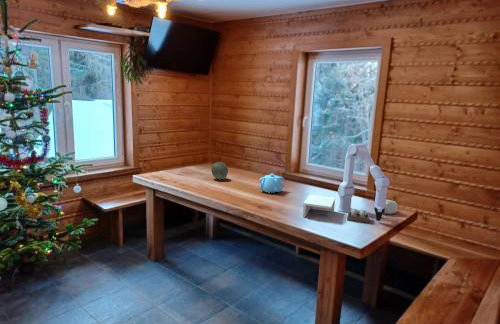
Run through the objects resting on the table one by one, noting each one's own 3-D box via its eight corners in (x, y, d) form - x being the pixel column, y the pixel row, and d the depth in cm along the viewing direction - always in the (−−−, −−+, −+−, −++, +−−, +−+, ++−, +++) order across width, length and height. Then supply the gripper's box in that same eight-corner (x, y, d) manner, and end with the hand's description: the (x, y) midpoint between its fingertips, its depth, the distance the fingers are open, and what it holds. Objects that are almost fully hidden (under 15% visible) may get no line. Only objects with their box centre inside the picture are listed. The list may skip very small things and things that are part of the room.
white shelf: (308, 207, 224) (309, 194, 222) (334, 211, 218) (335, 198, 217) (302, 217, 205) (303, 202, 203) (330, 221, 200) (331, 206, 198)
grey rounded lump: (377, 214, 215) (378, 210, 229) (397, 216, 211) (397, 212, 224) (379, 199, 214) (380, 196, 228) (399, 202, 210) (398, 199, 224)
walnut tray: (348, 216, 210) (348, 206, 209) (368, 219, 206) (369, 209, 205) (347, 220, 202) (347, 210, 201) (368, 223, 199) (369, 213, 197)
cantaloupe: (229, 178, 296) (230, 161, 293) (224, 182, 282) (225, 164, 280) (214, 177, 299) (214, 160, 296) (208, 180, 285) (208, 162, 283)
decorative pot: (267, 187, 271) (268, 170, 268) (286, 191, 262) (287, 173, 259) (256, 191, 257) (257, 174, 255) (275, 195, 248) (276, 177, 246)
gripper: (388, 202, 190) (385, 225, 192) (387, 195, 203) (385, 217, 206) (375, 200, 192) (372, 223, 195) (375, 194, 206) (372, 215, 208)
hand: (378, 220), depth 200 cm, fingers closed
